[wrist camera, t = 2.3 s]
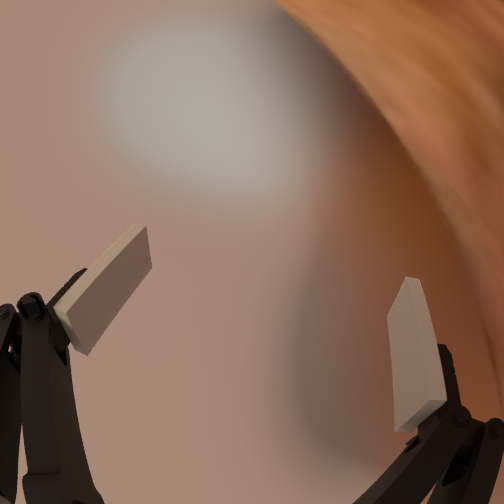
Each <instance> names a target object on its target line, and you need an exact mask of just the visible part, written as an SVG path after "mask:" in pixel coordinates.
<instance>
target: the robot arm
mask: <svg viewBox="0 0 504 504" xmlns="http://www.w3.org/2000/svg"><path fill="white" fill-rule="evenodd" d="M151 269H152V263H151V257H150V250H149V244H148V236H147V229H146V226H145V225H140V224H133V225H132V226H131V227H130V228H129V229H128V230H127V231H126V232H125V233H124V234H123V235H121V237H119V238H118V239H117V240H116V241H115V242H114V243H113V244H112V245H111V246H110V247H109V248H108V249H107V250H106V251H105V252H104V253H103V254H102V255H101V256H100V257H99V258H98V259H97V260H96V261H95V262H94V263H93V264H92V265H91V266H90V267H89V269H86V268H84V269H82V270H80V271H79V272H77V273H75V274H74V275H73V276H72V278H71V279H70V280H69V282H67V283H66V284H65V285H64V287H62V288H61V289H60V290H59V291H58V293H57V294H56V295H55V296H54V297H53V298H52V299H51V300H50V301H49V302H48V303H47V305H45V303H44V301H43V299H42V297H41V295H40V294H39V293H36V292H31V293H28V294H25V295H24V296H23V297H21V298H20V300H19V301H18V303H17V308H18V310H19V312H16V310H15V308H14V306H13V305H12V304H3V305H2V306H0V504H15V499H16V493H17V479H18V456H19V444H20V433H21V425H22V426H23V437H24V446H25V454H26V459H27V466H28V472H27V474H25V475H24V476H23V479H22V484H23V490H24V495H25V500H26V503H27V504H104V501H103V499H102V497H101V495H100V494H99V492H98V491H97V490H96V488H95V486H94V484H93V481H92V477H91V474H90V470H89V467H88V463H87V459H86V455H85V451H84V447H83V442H82V438H81V433H80V428H79V422H78V417H77V411H76V406H75V399H74V392H73V384H72V376H71V366H70V355H69V349H68V347H67V346H68V345H69V344H70V342H71V343H72V345H73V347H74V349H75V350H77V351H79V352H81V353H82V354H85V355H87V356H88V354H89V353H90V352H91V350H92V348H93V347H94V346H95V344H96V343H97V341H98V340H99V339H100V337H101V336H102V334H103V333H104V331H105V330H106V329H107V327H108V326H109V324H110V323H111V322H112V320H113V319H114V318H115V316H116V315H117V314H118V312H119V311H120V309H121V308H122V307H123V305H124V304H125V303H126V301H127V300H128V299H129V297H130V296H131V295H132V293H133V292H134V291H135V289H136V288H137V287H138V286H139V284H140V283H141V282H142V280H143V279H144V278H145V276H146V275H147V274H148V273H149V271H150V270H151ZM387 324H388V331H389V341H390V352H391V364H392V377H393V396H394V432H411V431H413V430H414V429H415V428H416V427H418V435H416V436H415V437H414V438H412V439H411V440H410V441H408V442H407V443H406V445H408V444H409V445H408V446H407V447H406V448H405V449H404V451H403V452H402V453H401V454H400V455H399V457H398V458H397V459H396V460H395V461H394V462H393V463H392V464H391V466H390V467H389V468H388V469H387V470H386V471H385V472H384V473H383V475H381V476H380V477H379V479H378V480H377V481H376V482H375V483H374V484H373V485H372V486H371V487H370V488H369V489H368V490H367V491H366V492H365V493H364V494H362V495H361V497H359V498H358V499H357V500H356V501H355V502H354V503H353V504H420V503H421V502H422V501H423V499H424V498H425V497H426V496H427V494H428V493H429V492H430V490H431V489H432V487H433V486H434V485H435V484H436V486H435V488H434V490H433V492H432V494H431V496H430V498H429V501H428V502H427V504H488V503H489V500H490V498H491V495H492V492H493V488H494V485H495V482H496V478H497V475H498V472H499V468H500V464H501V460H502V456H503V451H504V423H503V421H502V420H500V419H499V418H492V419H490V420H489V421H488V422H486V423H484V422H481V421H478V420H476V419H473V418H472V417H471V414H470V412H469V411H468V409H467V408H466V407H464V406H462V405H461V401H460V395H459V389H458V384H457V379H456V375H455V369H454V366H453V360H452V355H451V353H450V351H449V350H448V348H447V346H446V345H444V344H437V342H436V338H435V334H434V329H433V325H432V322H431V318H430V314H429V310H428V306H427V303H426V299H425V296H424V292H423V289H422V286H421V283H420V280H419V279H416V278H411V277H406V278H405V280H404V282H403V284H402V286H401V288H400V291H399V293H398V295H397V297H396V299H395V301H394V303H393V305H392V307H391V309H390V311H389V313H388V315H387ZM9 346H11V351H10V352H8V349H9ZM436 482H437V483H436Z"/></svg>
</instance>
